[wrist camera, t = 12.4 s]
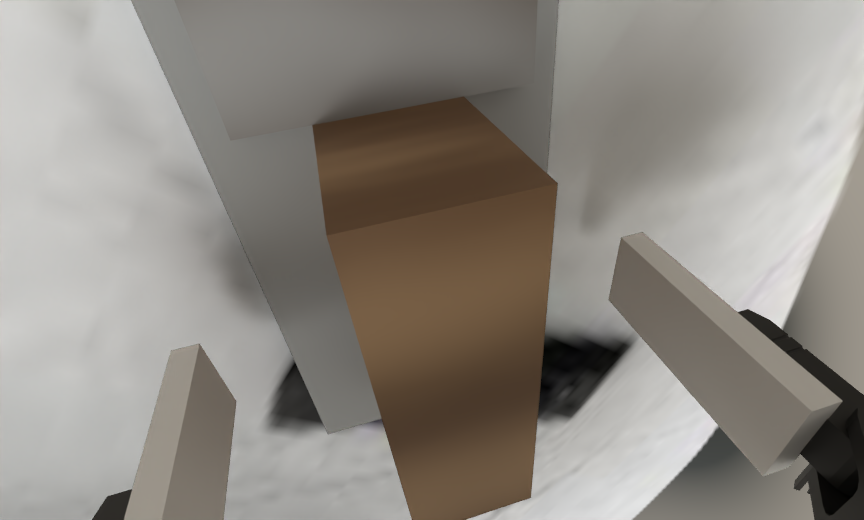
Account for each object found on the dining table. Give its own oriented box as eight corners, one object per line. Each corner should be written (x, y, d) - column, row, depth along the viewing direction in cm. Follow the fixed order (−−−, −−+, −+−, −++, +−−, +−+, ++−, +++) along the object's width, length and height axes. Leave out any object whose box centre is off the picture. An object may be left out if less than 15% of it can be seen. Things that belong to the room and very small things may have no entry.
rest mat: (528, 364, 22) (533, 374, 21) (327, 422, 20) (327, 434, 20) (580, -592, 7) (600, -628, 7) (-136, -623, 6) (-173, -672, 5)
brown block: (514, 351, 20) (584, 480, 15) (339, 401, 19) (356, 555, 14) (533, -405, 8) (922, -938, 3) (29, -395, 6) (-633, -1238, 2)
